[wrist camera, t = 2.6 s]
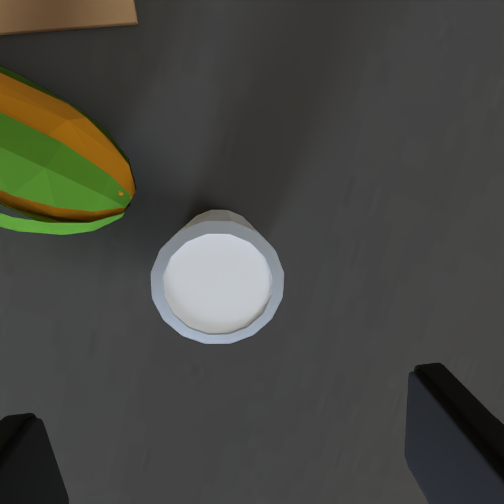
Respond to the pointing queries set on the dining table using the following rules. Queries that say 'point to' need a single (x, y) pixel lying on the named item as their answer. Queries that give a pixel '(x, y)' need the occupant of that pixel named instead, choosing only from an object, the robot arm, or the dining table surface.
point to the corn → (57, 163)
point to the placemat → (63, 15)
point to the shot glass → (217, 279)
